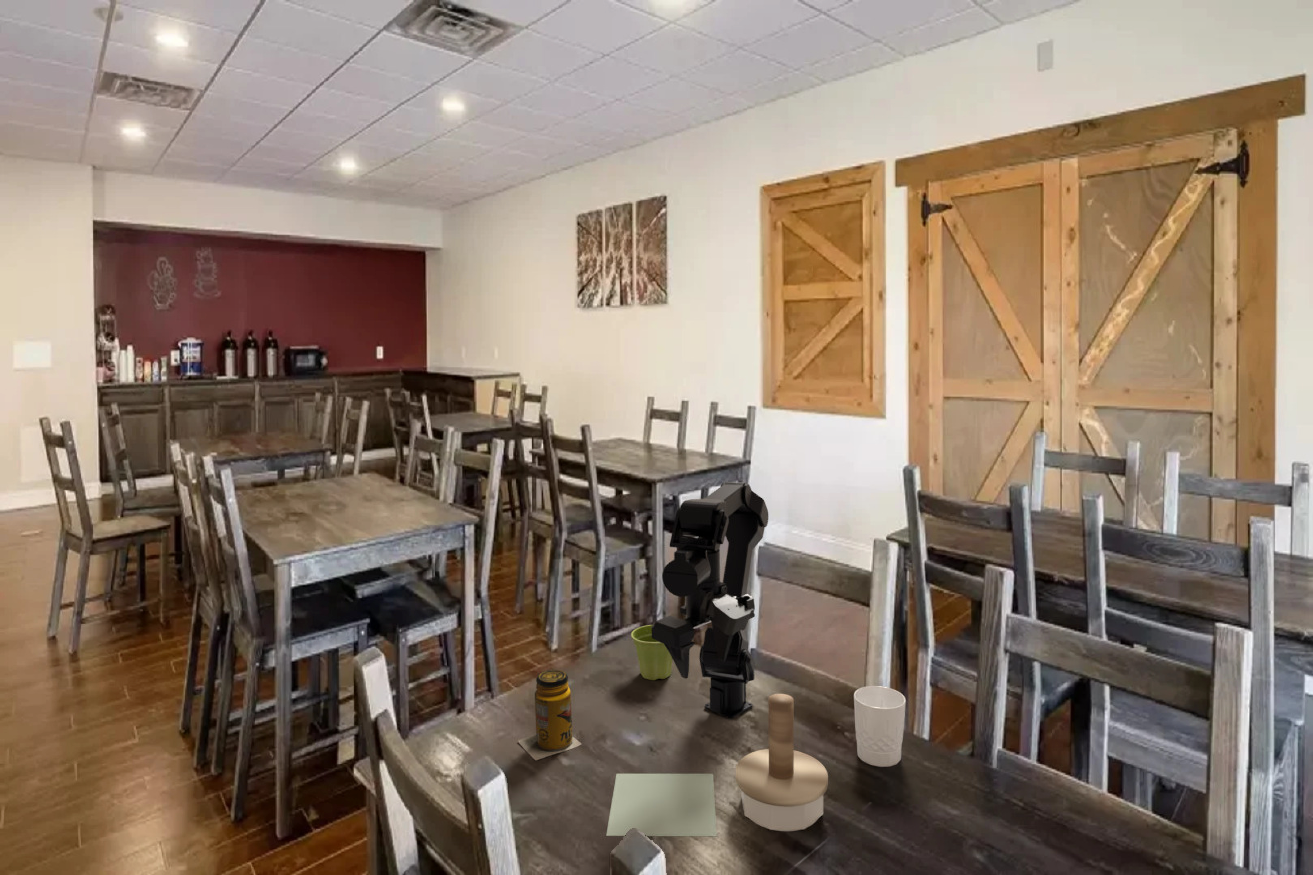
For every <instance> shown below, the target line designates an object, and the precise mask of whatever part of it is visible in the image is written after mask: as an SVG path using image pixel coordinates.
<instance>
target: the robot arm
mask: <svg viewBox="0 0 1313 875" xmlns="http://www.w3.org/2000/svg"><path fill="white" fill-rule="evenodd" d="M675 513H676V514H675V518H674V523H673V527H672V530H671V531H672V532H671V537H670V541H669V548H675V549H676V548H677V550H675V551H674V553H673V559H672V560H670V561H669V562H668V563H667V564H666V565H665V567H664V568H663V571H662V582H663V585H664V588H666V590H667V591H668V592H669V593H670V594H672V595H673V596H676V597H678V598H683V597H684V598H685V599H684V600H685V604H684V605H683V606H680V607H679V608H680V609H679V610H680V611H679V612H680V614H682V615H685V618H684V619H680V618H678V617H675V616H672V615H669V616H666V617H663V618H661V619H658V620H656V621H654V623H652V624H651V625H652V639H655V640H657V641H658V642H661V643H663V644H664V645H665V647H666V648H667V650H668V651H669V653H670V655H671V657H672V662H674V665H675V667H676V669H677V670H678V673H679V675H680V677H681V678H683V679H685V680H686V679H688V678H689V673H690V672H689V671H690V650H691V648H693V647H694V646H695V644H696V642H695V641H693V640H694V637H695V629H697V628H700V627H703V626H705V625H706V624H709V623H711V627H709V626H708V627H707V628H706V630H705V631H704V639H703V644H702V645H701V647H700V651H699V665H700V671H701V675H702V678H710V687H709V702H707V703H705V704H704V709H706V710H709V711H711V712H713V713H715V714H718V715H720V716H723V717H724V718H727V719H734V718H736V717H737V716H739V715H742V714H743V713H745V712H747V711H749V710H750V709H752V708H753V705H754V704H753V703H752V702H749V701H747V685H748V683H749V682H750V681H754V680H755V670H756V668H755V660H754V659H753V658H754V657H753V656H752V654H751V652H750V651H749V640H748V639H747V636H746V633H745V631H744V630H746V628H747V625H748V622H749V621H750V620H751V619H753V618H755V617H756V615H755V609H756V606H755V604H756V603H755V598H754V597H753V596H752V595H750V594H749V593H747V592H748V586H749V577H750V571H751V565H752V564H751V563H752V556H753V550H754V549H755V548H756V547H757V545H758V544H759V543H760V542H761V541H762V539H763V538H764V534H765V528H767V526H768V524H769V511H768V507H767V503H766V502H765V500H764V498H763V497H761V496H759V494H757V493H756V492H754V491H753V490H752V488H751V485H750V484H748V483H746V482H739V481H725V482H721V485H720V487H718V488H717V489H716V490H714V491H713V492H711V493H710V494H708V495H707V496H706V497H704V498H698V499H697V498H693V499H692V498H691V499H686V500H683V501H682V503H680V506H679V507H678V508H677V511H676V512H675ZM725 538H726V541H727V542H728V543H727V544H728V545H727V551H726V552H727V553H726V559H725V566H724V571H723V578H722V581H721V554H720V553H721V551H720V548H721V545H724V543H725V542H724V541H725Z"/></svg>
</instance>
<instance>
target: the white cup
mask: <svg viewBox="0 0 1313 875" xmlns="http://www.w3.org/2000/svg"><path fill="white" fill-rule="evenodd" d="M853 702H854V703H853V704H854V724H855V725H854V730H855V739H856V749H857V757H858V758H859V759H860V760H861V761H862V762H863V763H865V764H868V765H871V766H875V767H879V768H884V767H886V768H887V767H892V766H895V765H897V764H898V763H900V761H901V760H902V744H903V738H904V730H905V713H906V703H907V702H906V697H905V696H904V695H903V693H901V692H900V691H898V690H895V689H894V688H891V687H885V686H881V685H880V686H879V685H867V686H863V687H860V688H858V689H856V690H855V691H854V693H853Z"/></svg>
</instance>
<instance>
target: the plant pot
mask: <svg viewBox="0 0 1313 875" xmlns="http://www.w3.org/2000/svg"><path fill="white" fill-rule="evenodd" d="M630 637H631V639H632V640H633V643H634V645H635V649H636V654H637V660H638V665H639V671H640V674H641V677H642V678H644V679H647V680H650V681H656V680H658V679H659V680H660V679H661V680H665V679H667V678H668V677H670V676H671V674H672V667H673V659H672V657H671V655H670V653H669V651H668V650H667V648H666V647H665V645H664V644H663V643H661V642H658V641H657V640H655V639H652V624H649V625H643V626H639V627H637V628H635V629H634V630H632V631H631V633H630Z"/></svg>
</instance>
